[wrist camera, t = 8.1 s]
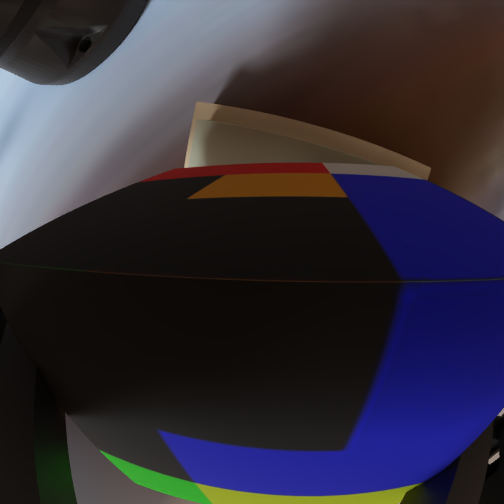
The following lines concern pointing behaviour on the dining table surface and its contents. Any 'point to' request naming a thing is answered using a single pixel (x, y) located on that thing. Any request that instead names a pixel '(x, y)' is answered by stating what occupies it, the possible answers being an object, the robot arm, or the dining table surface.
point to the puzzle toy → (269, 329)
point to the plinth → (305, 133)
